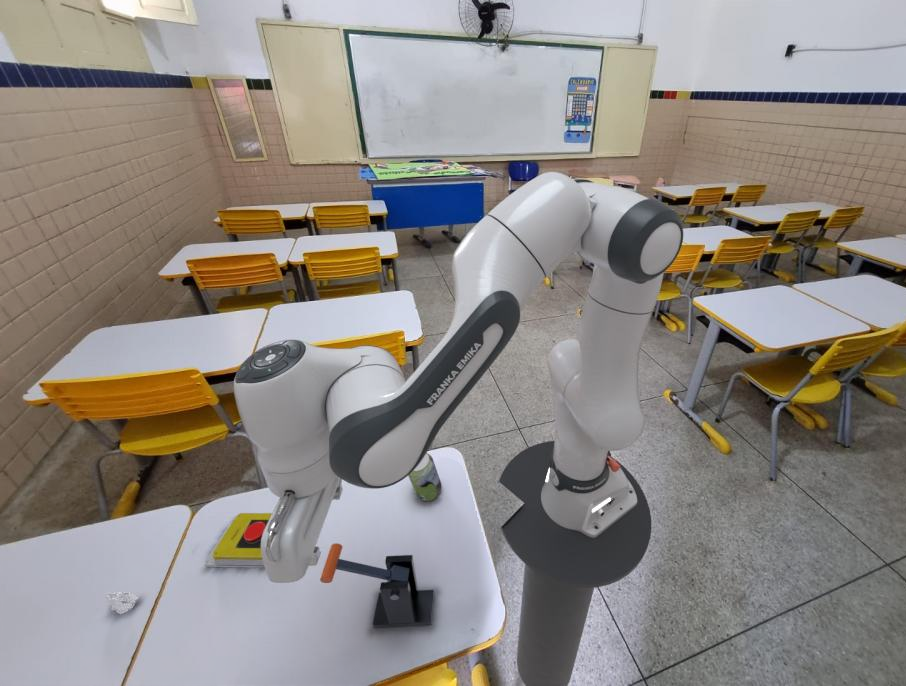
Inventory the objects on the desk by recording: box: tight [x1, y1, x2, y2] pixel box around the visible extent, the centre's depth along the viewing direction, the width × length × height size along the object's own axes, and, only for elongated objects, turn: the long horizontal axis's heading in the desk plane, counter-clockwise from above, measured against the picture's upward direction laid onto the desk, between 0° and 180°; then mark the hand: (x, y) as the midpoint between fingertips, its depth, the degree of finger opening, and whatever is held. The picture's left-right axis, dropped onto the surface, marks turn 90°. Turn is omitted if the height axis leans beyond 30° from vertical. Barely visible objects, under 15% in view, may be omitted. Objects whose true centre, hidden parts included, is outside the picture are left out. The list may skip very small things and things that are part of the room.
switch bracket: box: [372, 554, 435, 629], centre depth 65 cm, size 10×6×13 cm, turn 93°
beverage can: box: [407, 452, 442, 502], centre depth 85 cm, size 6×7×12 cm
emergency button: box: [204, 512, 273, 569], centre depth 77 cm, size 9×4×15 cm
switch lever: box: [319, 543, 409, 584], centre depth 61 cm, size 13×5×2 cm, turn 93°
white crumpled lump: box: [106, 591, 139, 615], centre depth 67 cm, size 5×2×4 cm, turn 93°
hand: (325, 525), depth 54 cm, fingers open, 8 cm apart
